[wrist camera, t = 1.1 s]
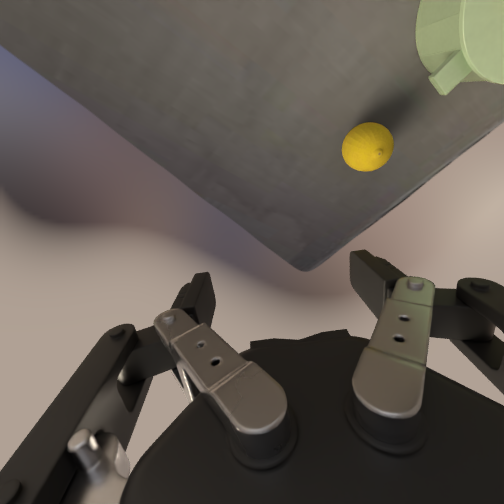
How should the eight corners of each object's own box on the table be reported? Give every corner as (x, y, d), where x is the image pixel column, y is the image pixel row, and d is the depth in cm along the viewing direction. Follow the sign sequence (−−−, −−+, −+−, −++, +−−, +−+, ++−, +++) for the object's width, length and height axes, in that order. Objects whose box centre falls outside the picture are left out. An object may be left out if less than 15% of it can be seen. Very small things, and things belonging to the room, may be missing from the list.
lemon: (382, 147, 34) (411, 161, 28) (344, 170, 36) (364, 187, 29) (368, 109, 32) (397, 114, 25) (328, 136, 34) (346, 147, 27)
